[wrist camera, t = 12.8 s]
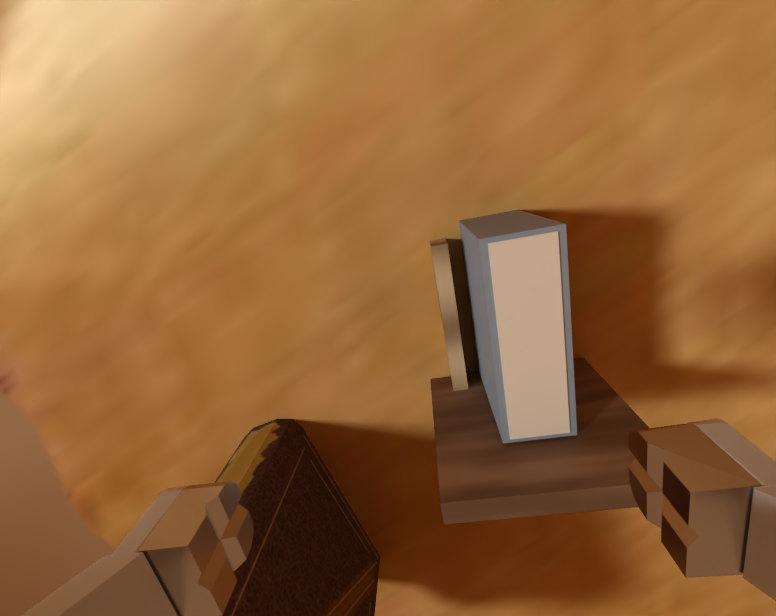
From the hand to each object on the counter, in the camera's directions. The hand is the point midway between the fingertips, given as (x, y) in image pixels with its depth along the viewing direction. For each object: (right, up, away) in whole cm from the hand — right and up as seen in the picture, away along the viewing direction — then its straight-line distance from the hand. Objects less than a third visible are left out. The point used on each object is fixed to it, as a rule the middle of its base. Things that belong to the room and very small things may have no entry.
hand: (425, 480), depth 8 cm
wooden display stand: (+8, +4, +24) cm, 26 cm away
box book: (+8, +5, +24) cm, 26 cm away
